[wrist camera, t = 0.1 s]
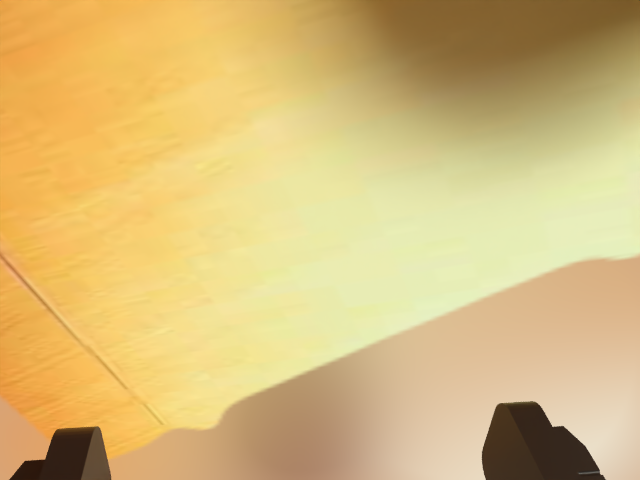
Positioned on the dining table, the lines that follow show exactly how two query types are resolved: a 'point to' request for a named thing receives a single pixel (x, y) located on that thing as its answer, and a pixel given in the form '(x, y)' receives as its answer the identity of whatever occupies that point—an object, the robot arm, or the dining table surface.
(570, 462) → the robot arm
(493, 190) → the dining table surface
